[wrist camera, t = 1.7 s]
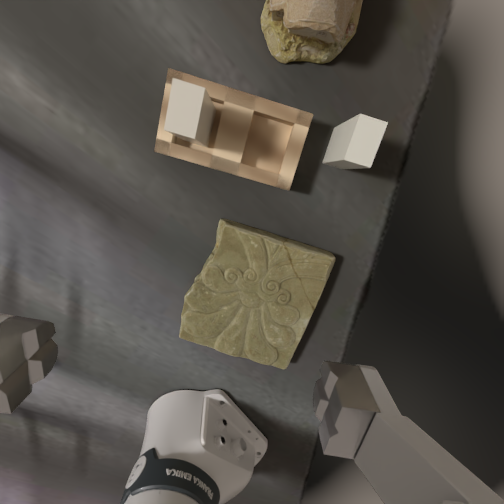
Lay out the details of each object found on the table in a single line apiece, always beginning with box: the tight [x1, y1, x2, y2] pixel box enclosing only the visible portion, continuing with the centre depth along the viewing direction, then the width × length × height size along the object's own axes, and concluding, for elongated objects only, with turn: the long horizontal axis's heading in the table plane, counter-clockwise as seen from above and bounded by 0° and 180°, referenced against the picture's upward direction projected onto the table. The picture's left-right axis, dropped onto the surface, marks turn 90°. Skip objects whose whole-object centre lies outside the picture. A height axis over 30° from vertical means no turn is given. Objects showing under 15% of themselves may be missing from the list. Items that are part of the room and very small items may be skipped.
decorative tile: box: [179, 219, 335, 369], centre depth 40 cm, size 19×20×4 cm
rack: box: [154, 68, 313, 190], centre depth 33 cm, size 9×17×4 cm, turn 74°
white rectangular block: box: [323, 114, 388, 169], centre depth 31 cm, size 4×3×8 cm, turn 164°
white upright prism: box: [164, 78, 216, 147], centre depth 29 cm, size 4×3×8 cm, turn 164°
